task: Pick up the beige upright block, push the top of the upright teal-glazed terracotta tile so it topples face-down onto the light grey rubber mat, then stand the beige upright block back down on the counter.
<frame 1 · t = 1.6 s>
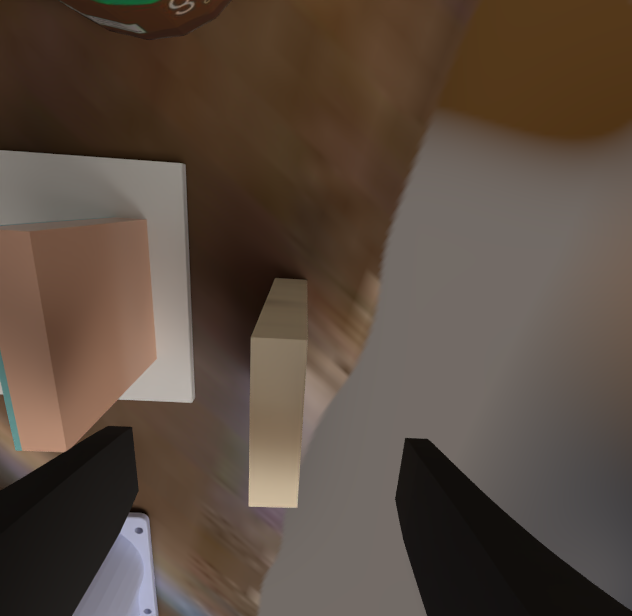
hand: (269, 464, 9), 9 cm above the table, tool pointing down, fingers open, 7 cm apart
mat: (68, 285, 17), on the table
tile: (135, 292, 17), resting on mat
beige upright block: (288, 334, 18), on the table
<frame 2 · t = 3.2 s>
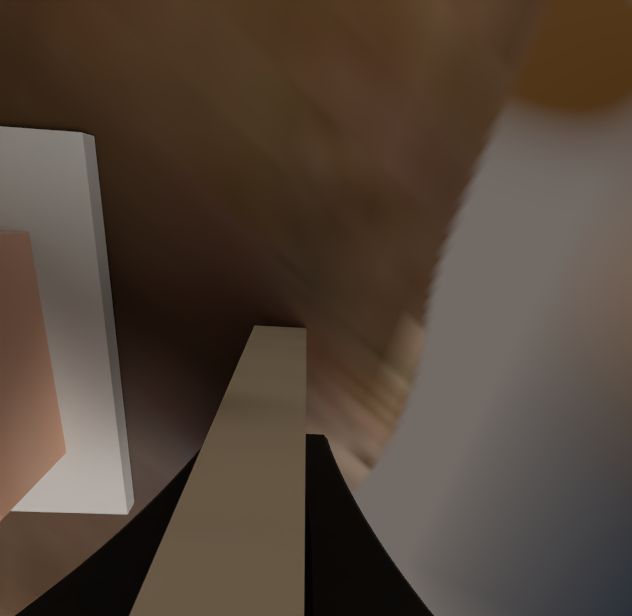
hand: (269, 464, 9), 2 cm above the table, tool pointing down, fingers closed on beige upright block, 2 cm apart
tile: (21, 351, 10), resting on mat
beige upright block: (277, 411, 12), on the table, touching gripper
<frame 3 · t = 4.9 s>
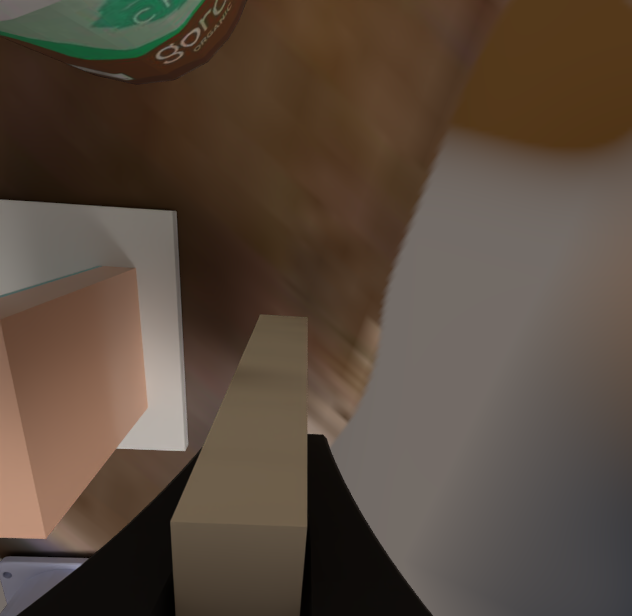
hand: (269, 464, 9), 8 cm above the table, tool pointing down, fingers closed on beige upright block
mat: (54, 333, 16), on the table
tile: (124, 341, 16), resting on mat
beige upright block: (279, 394, 13), point 5 cm above the table, touching gripper
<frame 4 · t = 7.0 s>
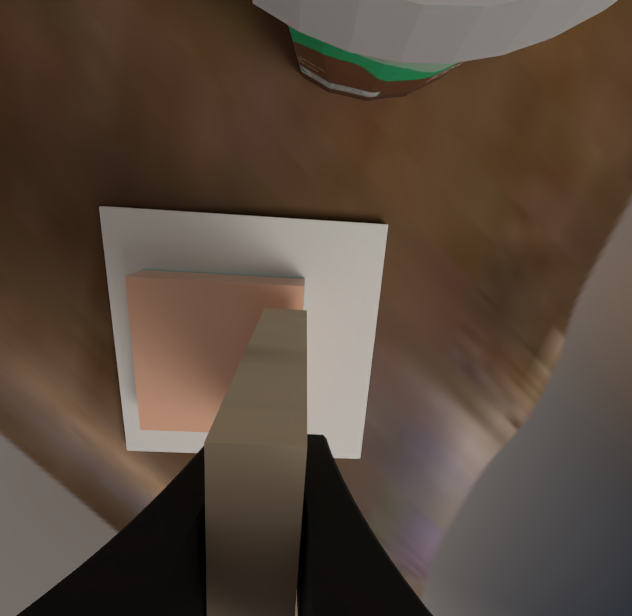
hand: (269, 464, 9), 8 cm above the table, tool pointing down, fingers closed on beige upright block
mat: (247, 343, 17), on the table
food container: (435, 8, 13), on the table
tile: (300, 358, 16), point 1 cm above the table, tilted 90°, touching mat
beige upright block: (282, 380, 14), point 3 cm above the table, touching gripper
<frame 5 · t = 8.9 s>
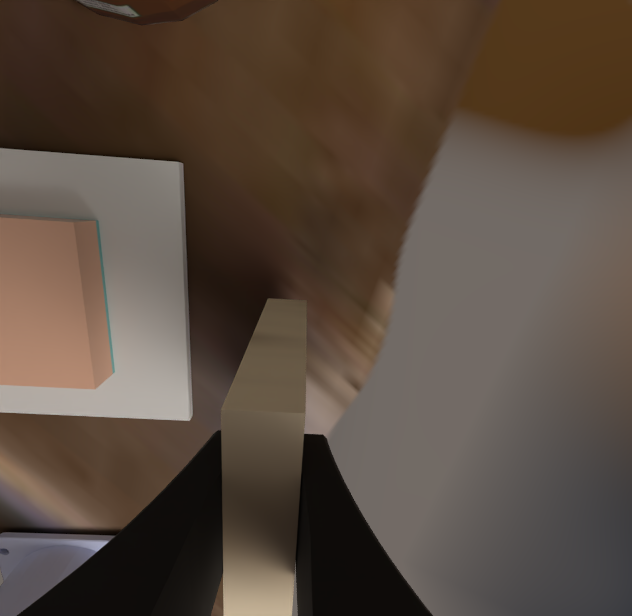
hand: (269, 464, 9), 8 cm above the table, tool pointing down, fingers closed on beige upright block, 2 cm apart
mat: (55, 294, 16), on the table
tile: (96, 306, 15), point 1 cm above the table, tilted 90°, touching mat
beige upright block: (284, 365, 15), point 2 cm above the table, touching gripper
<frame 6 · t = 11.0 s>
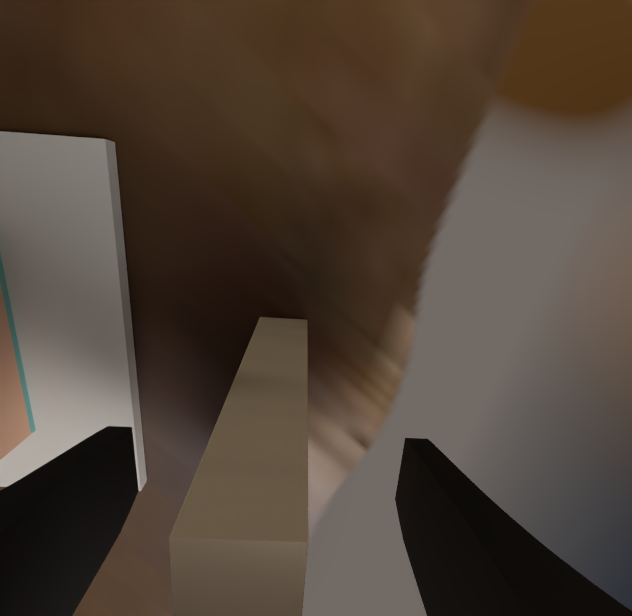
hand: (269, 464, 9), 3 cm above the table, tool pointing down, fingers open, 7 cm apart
beige upright block: (279, 396, 13), on the table
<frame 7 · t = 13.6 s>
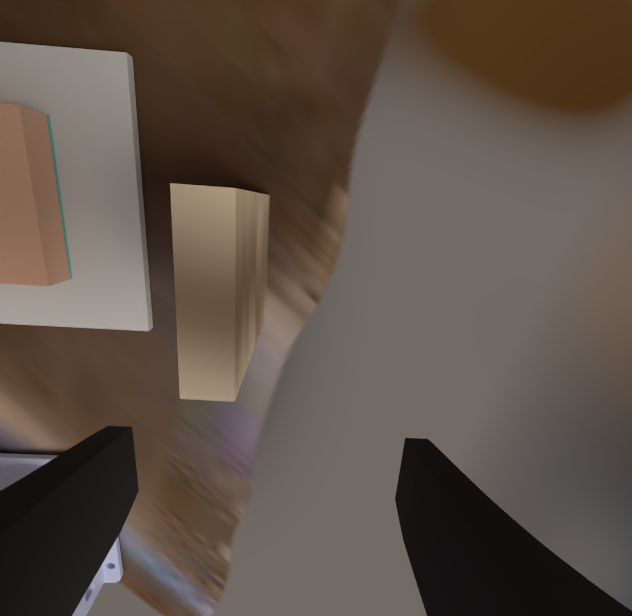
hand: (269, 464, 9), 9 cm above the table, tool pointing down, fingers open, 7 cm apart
mat: (11, 198, 16), on the table
tile: (48, 202, 15), point 1 cm above the table, tilted 90°, touching mat
beige upright block: (251, 257, 17), on the table
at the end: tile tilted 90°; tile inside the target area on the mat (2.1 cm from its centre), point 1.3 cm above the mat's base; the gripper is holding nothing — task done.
